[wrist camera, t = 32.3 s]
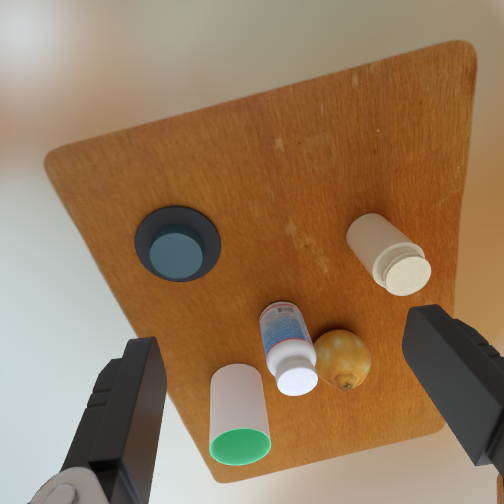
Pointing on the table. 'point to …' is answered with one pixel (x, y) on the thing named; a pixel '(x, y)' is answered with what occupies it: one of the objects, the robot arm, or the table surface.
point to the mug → (238, 416)
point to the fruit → (342, 359)
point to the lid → (177, 251)
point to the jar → (388, 254)
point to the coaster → (184, 218)
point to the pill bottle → (288, 348)
